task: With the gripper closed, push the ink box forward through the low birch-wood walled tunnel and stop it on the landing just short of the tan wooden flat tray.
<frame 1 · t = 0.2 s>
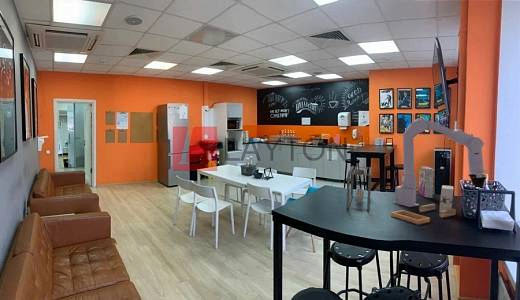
hand: (477, 190, 150), 10 cm above the table, tool pointing down, fingers open, 7 cm apart
candy bar box: (425, 196, 181), on the table
birch tunnel: (437, 212, 146), on the table
tan wooden flat tray: (409, 219, 136), on the table
newton's cradle: (359, 204, 161), on the table
ink box: (445, 211, 150), on the table
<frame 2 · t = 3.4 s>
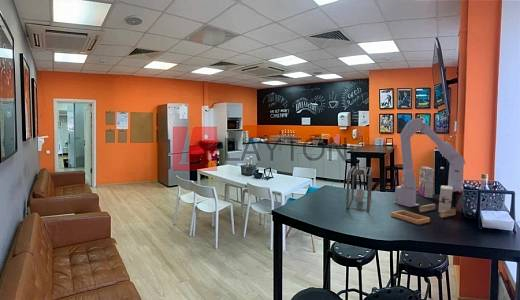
hand: (453, 206, 153), 1 cm above the table, tool pointing down, fingers closed
ink box: (444, 211, 149), on the table, touching gripper
everything else where it was.
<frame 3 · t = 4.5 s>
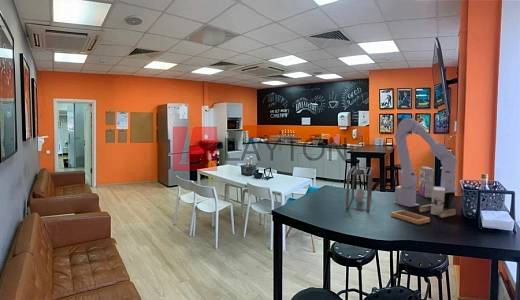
hand: (445, 208, 149), 1 cm above the table, tool pointing down, fingers closed
ink box: (437, 213, 146), on the table, touching gripper
everything else where it was.
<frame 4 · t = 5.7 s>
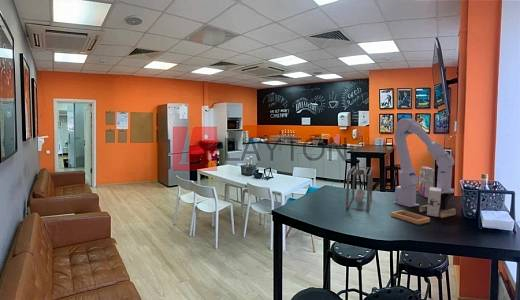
hand: (442, 208, 148), 1 cm above the table, tool pointing down, fingers closed
ink box: (433, 214, 144), on the table, touching gripper
everything else where it was.
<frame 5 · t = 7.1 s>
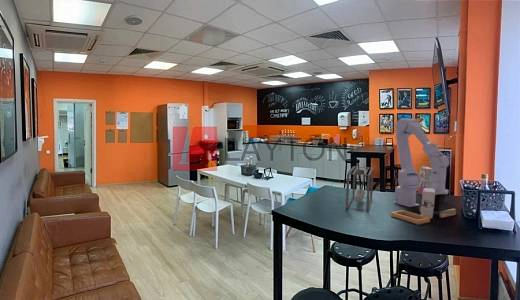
hand: (436, 210, 145), 1 cm above the table, tool pointing down, fingers closed
ink box: (427, 215, 142), on the table, touching gripper
everything else where it was.
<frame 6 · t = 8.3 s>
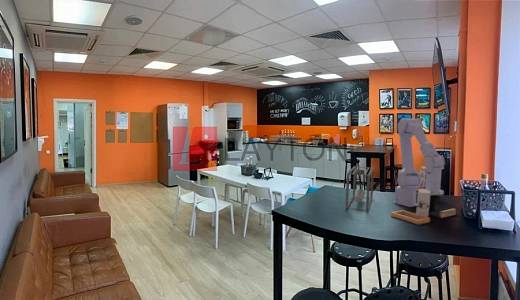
hand: (431, 211, 143), 1 cm above the table, tool pointing down, fingers closed
ink box: (422, 216, 140), on the table, touching gripper, tan wooden flat tray
everything else where it was.
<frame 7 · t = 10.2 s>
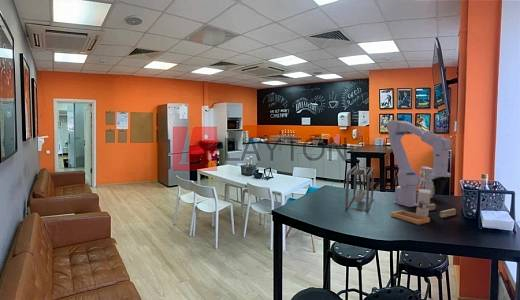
hand: (438, 193, 145), 9 cm above the table, tool pointing down, fingers closed
ink box: (422, 217, 140), on the table
everything else where it was.
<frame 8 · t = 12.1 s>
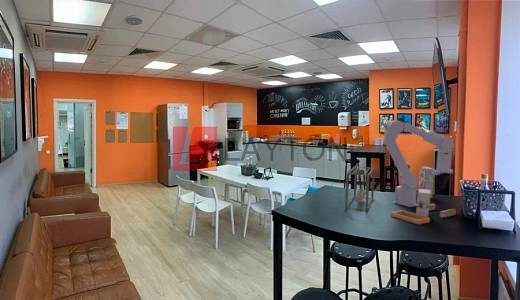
hand: (441, 188, 157), 9 cm above the table, tool pointing down, fingers closed
nothing on the table moved.
at the end: ink box 0.5 cm from the target spot, on the table; ink box tilted 0°; ink box touching table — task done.
